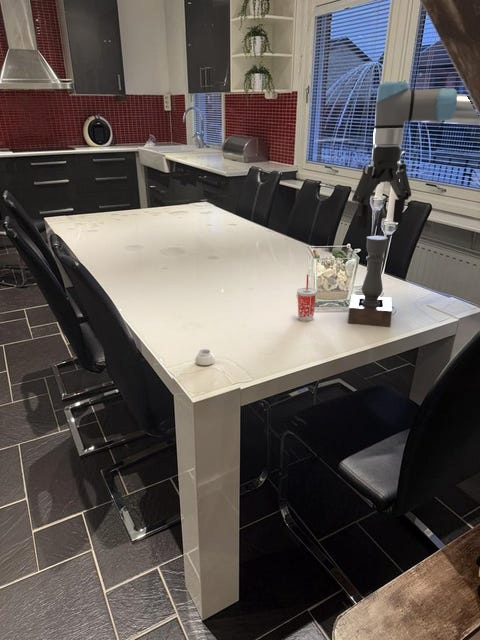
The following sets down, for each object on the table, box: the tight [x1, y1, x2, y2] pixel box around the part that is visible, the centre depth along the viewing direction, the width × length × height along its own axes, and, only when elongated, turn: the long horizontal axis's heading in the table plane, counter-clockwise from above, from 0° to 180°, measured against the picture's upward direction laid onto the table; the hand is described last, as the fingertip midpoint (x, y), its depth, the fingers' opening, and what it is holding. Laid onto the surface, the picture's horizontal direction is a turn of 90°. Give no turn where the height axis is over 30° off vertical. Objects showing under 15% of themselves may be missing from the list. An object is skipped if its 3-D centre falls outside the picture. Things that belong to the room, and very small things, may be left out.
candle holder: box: [361, 235, 388, 307], centre depth 140 cm, size 6×6×25 cm
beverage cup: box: [296, 274, 318, 322], centre depth 142 cm, size 6×6×14 cm
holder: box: [347, 294, 393, 328], centre depth 143 cm, size 12×12×5 cm
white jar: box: [194, 348, 216, 366], centre depth 117 cm, size 5×3×5 cm
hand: (379, 225), depth 134 cm, fingers open, 13 cm apart
